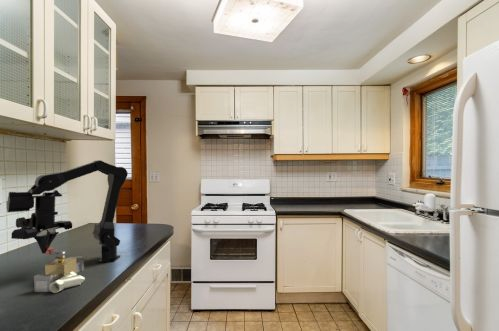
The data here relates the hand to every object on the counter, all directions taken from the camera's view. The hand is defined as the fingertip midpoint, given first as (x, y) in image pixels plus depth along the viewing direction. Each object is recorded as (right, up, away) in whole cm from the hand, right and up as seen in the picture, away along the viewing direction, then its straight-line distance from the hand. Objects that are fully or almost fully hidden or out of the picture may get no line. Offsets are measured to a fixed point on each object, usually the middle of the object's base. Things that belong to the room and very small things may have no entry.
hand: (43, 253), depth 96 cm
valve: (+8, -9, -2) cm, 12 cm away
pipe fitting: (+14, -9, -8) cm, 19 cm away
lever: (+4, -1, 0) cm, 4 cm away
